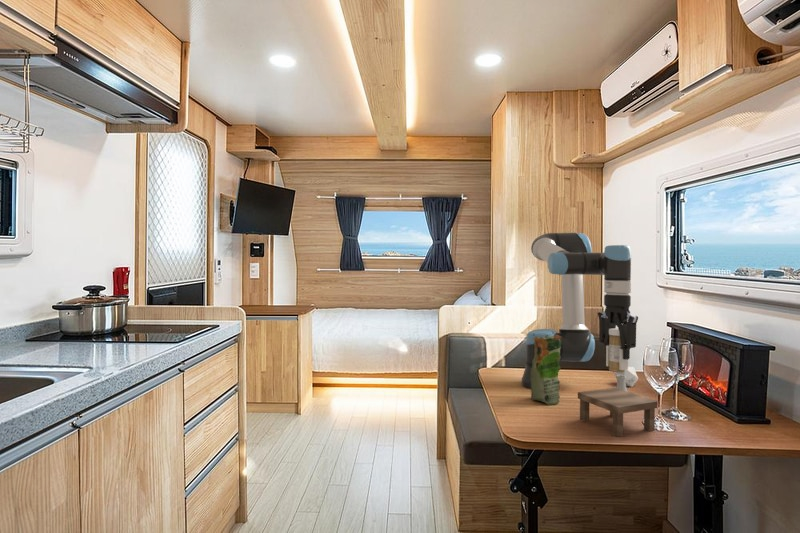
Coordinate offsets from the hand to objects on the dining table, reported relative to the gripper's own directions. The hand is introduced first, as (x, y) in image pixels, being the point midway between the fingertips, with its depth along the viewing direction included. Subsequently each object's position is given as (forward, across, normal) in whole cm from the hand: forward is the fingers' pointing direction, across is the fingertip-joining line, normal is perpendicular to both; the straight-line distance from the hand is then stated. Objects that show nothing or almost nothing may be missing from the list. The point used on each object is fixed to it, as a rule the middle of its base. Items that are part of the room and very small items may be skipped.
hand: (616, 367), depth 137 cm
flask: (+18, -16, +20) cm, 32 cm away
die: (+18, -33, +42) cm, 57 cm away
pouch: (+18, -27, -5) cm, 33 cm away
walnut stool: (+18, 0, 0) cm, 18 cm away
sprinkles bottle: (+1, 0, 0) cm, 1 cm away
